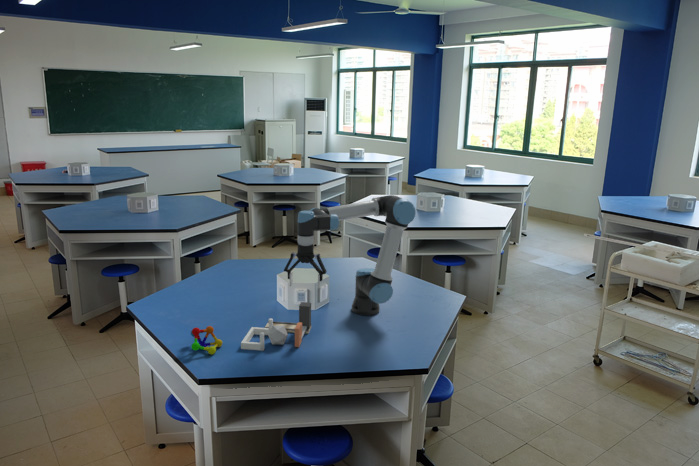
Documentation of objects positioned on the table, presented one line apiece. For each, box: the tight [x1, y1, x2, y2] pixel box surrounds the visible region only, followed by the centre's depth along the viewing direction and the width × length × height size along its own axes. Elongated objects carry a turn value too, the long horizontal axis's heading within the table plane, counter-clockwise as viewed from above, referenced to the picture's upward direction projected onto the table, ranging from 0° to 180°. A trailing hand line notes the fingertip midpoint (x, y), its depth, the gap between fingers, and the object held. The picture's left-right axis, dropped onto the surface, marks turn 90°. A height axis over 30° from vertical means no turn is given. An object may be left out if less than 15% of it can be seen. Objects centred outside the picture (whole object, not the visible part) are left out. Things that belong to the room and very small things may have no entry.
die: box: [267, 326, 289, 346], centre depth 238 cm, size 8×9×10 cm
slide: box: [263, 320, 312, 335], centre depth 254 cm, size 22×8×2 cm, turn 84°
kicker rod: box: [294, 301, 312, 348], centre depth 243 cm, size 5×22×13 cm, turn 174°
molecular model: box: [190, 325, 223, 355], centre depth 229 cm, size 15×10×15 cm
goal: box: [240, 318, 274, 352], centre depth 239 cm, size 10×18×8 cm, turn 174°
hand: (304, 286), depth 248 cm, fingers open, 13 cm apart
